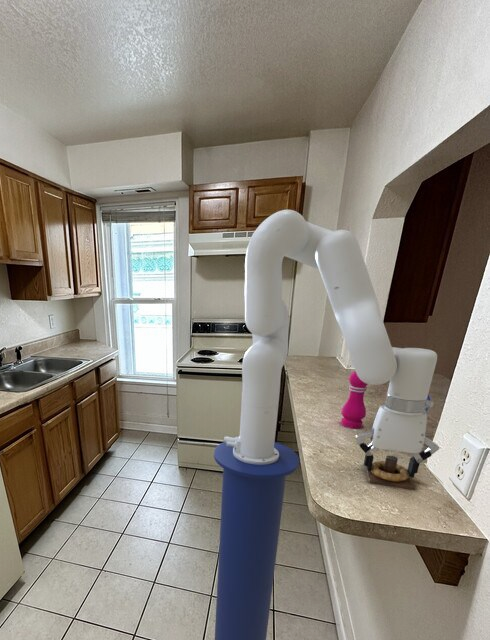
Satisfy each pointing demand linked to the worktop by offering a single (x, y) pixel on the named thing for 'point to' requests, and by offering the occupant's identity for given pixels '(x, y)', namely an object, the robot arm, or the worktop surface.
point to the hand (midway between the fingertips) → (388, 471)
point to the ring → (389, 476)
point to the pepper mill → (354, 403)
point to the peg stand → (390, 468)
